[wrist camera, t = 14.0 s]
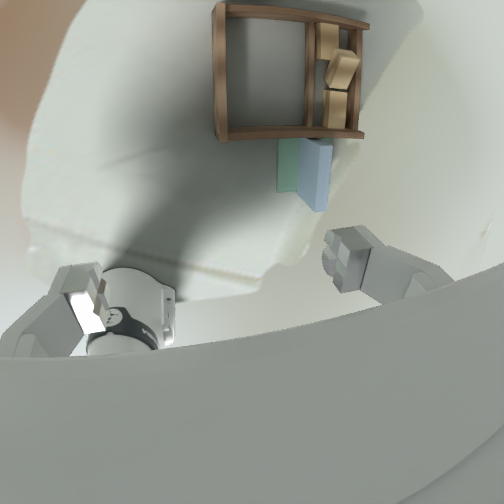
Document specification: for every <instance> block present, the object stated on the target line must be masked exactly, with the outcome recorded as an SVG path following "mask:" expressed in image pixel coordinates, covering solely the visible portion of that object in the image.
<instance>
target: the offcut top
mask: <svg viewBox="0 0 504 504" xmlns="http://www.w3.org/2000/svg"><path fill="white" fill-rule="evenodd" d="M359 61H360V59H359V58H358V57H357V56H356V55H355V53H354V52H353V51H349V50H343V49H337V48H335V49H334V51H333V54H332V57H331V60H330V62H329V65H328V68H327V70H326V73H325V76H324V80H325V81H326V83H327V84H328V86H329V88H338V89H347V88H348V86H349V83H350V81H351V79H352V77H353V74H354V72H355V70H356V68H357V65H358V63H359Z"/></svg>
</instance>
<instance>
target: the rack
mask: <svg viewBox="0 0 504 504" xmlns="http://www.w3.org/2000/svg"><path fill="white" fill-rule="evenodd" d="M225 18H258V19H274V20H286V21H295V22H303V23H305V99H304V125H284V126H250V127H232V128H228V125H227V90H226V38H225ZM320 22H321V23H327V24H333V25H339V28H340V29H344V30H348V50H349V51H353V52H354V53H355V55H356V56H357V57H358V58H359V59H360V61H359V63H358V65H357V68H356V70H355V72H354V74H353V77H352V79H351V81H350V83H349V86H348V88H347V106H346V119H345V129H335V128H326V127H324V126H312V123H313V98H314V55H315V24H317V23H320ZM369 29H370V24H369V23H365V22H361V21H357V20H353V19H349V18H345V17H340V16H336V15H331V14H325V13H320V12H314V11H308V10H301V9H293V8H285V7H274V6H261V5H235V4H225V3H216V5H215V7H214V9H213V11H212V57H213V93H214V119H215V136H216V137H217V139H218V140H219V142H220V143H228V141H232V140H247V139H266V138H354V139H364V133H363V132H361V131H359V130H358V120H359V107H360V91H361V70H362V30H369Z"/></svg>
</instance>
